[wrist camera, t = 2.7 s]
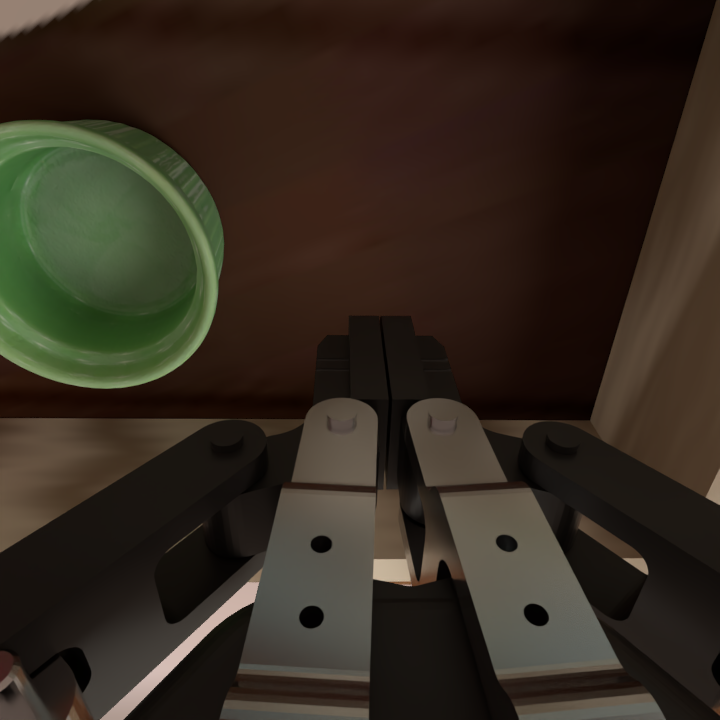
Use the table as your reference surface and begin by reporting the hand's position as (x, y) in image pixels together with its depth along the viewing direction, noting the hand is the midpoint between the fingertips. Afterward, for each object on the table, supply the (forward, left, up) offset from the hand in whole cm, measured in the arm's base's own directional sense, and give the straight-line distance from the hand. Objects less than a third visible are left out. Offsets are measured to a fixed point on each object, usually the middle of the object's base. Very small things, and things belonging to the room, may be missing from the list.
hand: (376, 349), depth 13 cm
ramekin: (+9, 0, -9) cm, 13 cm away
